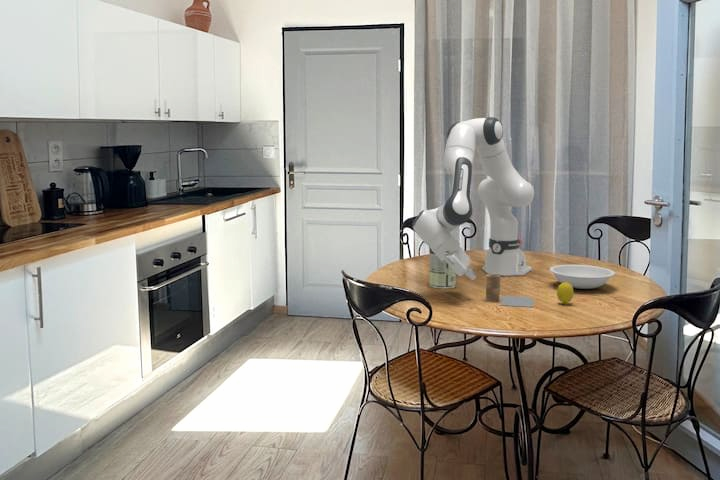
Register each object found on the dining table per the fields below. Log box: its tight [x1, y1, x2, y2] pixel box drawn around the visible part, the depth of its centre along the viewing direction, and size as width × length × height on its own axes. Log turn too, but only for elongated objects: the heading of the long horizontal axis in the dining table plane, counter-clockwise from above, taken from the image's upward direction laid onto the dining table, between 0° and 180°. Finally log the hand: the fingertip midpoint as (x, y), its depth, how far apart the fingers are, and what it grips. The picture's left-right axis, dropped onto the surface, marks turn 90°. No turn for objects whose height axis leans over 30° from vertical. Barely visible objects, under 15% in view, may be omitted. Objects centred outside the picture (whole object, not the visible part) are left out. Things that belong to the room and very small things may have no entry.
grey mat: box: [499, 295, 534, 308], centre depth 264 cm, size 11×14×1 cm
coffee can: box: [428, 248, 457, 290], centre depth 287 cm, size 10×10×14 cm
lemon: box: [556, 282, 574, 305], centre depth 261 cm, size 6×6×8 cm
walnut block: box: [485, 273, 501, 303], centre depth 266 cm, size 4×4×9 cm
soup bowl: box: [549, 264, 616, 290], centre depth 287 cm, size 24×24×7 cm
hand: (474, 278), depth 266 cm, fingers closed
